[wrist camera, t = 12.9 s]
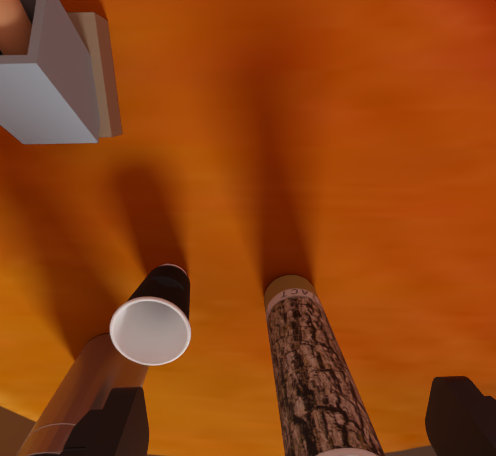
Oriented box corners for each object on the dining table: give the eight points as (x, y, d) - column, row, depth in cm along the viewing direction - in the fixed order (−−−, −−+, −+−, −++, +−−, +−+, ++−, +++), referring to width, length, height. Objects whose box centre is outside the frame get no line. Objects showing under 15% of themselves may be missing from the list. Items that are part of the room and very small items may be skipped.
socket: (122, 137, 39) (66, 155, 26) (40, 139, 39) (-58, 157, 26) (106, 12, 35) (30, -41, 22) (14, 13, 35) (-117, -39, 22)
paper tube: (300, 324, 48) (362, 538, 24) (255, 307, 47) (273, 514, 23) (324, 283, 46) (416, 472, 22) (276, 264, 45) (321, 443, 21)
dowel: (47, 122, 33) (-43, -19, 22) (34, 103, 34) (-58, -40, 23) (77, 109, 34) (5, -33, 23) (64, 90, 35) (-11, -53, 24)
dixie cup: (151, 314, 47) (127, 374, 36) (128, 261, 44) (95, 309, 34) (208, 299, 46) (201, 355, 36) (189, 244, 44) (175, 289, 33)
